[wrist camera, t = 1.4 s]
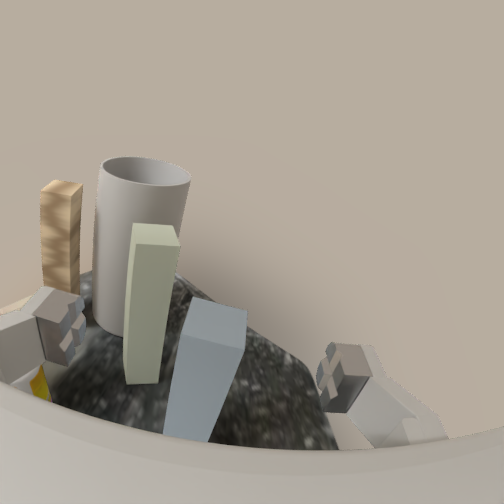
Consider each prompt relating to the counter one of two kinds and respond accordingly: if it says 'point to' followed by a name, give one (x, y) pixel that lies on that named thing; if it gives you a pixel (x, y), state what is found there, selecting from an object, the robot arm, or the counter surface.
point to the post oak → (61, 235)
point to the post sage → (148, 299)
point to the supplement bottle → (34, 384)
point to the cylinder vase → (129, 224)
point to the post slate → (204, 368)
